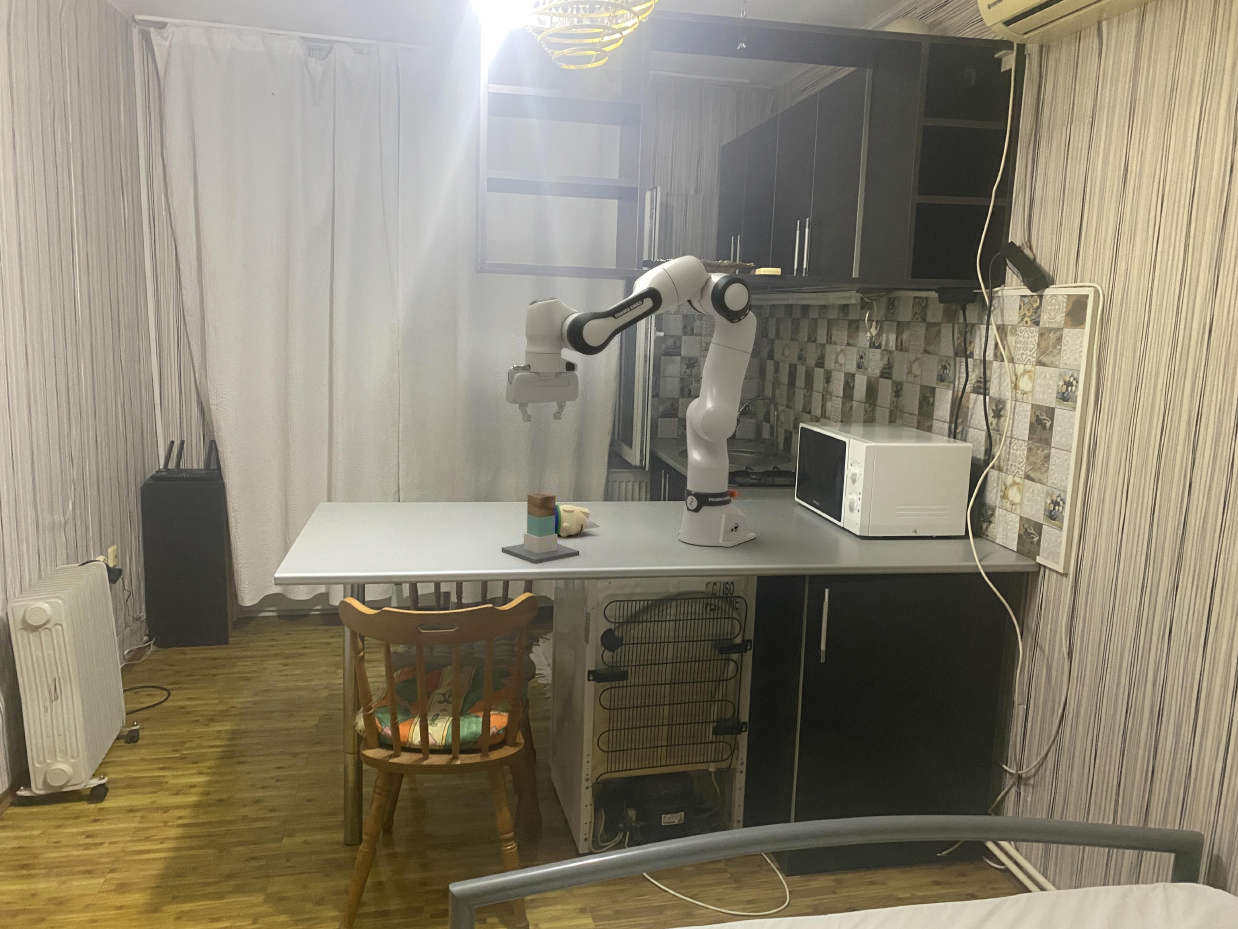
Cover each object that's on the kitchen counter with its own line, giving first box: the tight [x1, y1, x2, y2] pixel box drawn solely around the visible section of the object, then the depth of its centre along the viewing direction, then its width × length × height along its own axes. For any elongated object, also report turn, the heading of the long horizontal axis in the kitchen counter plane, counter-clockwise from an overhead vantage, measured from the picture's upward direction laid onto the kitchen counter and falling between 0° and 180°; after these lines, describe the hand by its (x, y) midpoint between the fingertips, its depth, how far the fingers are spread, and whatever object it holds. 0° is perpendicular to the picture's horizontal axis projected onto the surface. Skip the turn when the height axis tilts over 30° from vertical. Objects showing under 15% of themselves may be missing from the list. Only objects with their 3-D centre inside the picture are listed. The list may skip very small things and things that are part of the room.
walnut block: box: [526, 492, 557, 518], centre depth 231 cm, size 5×5×5 cm
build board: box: [501, 532, 580, 564], centre depth 233 cm, size 14×14×5 cm
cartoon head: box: [555, 504, 601, 538], centre depth 253 cm, size 9×10×20 cm
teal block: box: [526, 513, 555, 537], centre depth 232 cm, size 5×5×5 cm
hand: (542, 420), depth 228 cm, fingers open, 8 cm apart
